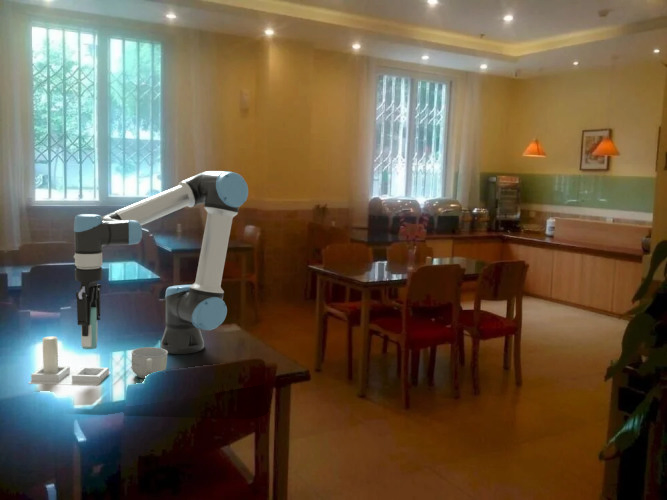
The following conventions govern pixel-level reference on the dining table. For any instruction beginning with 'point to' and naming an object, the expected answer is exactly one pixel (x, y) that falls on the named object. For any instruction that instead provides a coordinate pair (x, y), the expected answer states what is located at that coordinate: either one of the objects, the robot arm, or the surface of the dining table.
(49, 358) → the peg seated
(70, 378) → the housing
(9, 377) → the dining table surface
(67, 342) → the dining table surface
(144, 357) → the teacup
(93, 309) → the teal peg
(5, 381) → the dining table surface
